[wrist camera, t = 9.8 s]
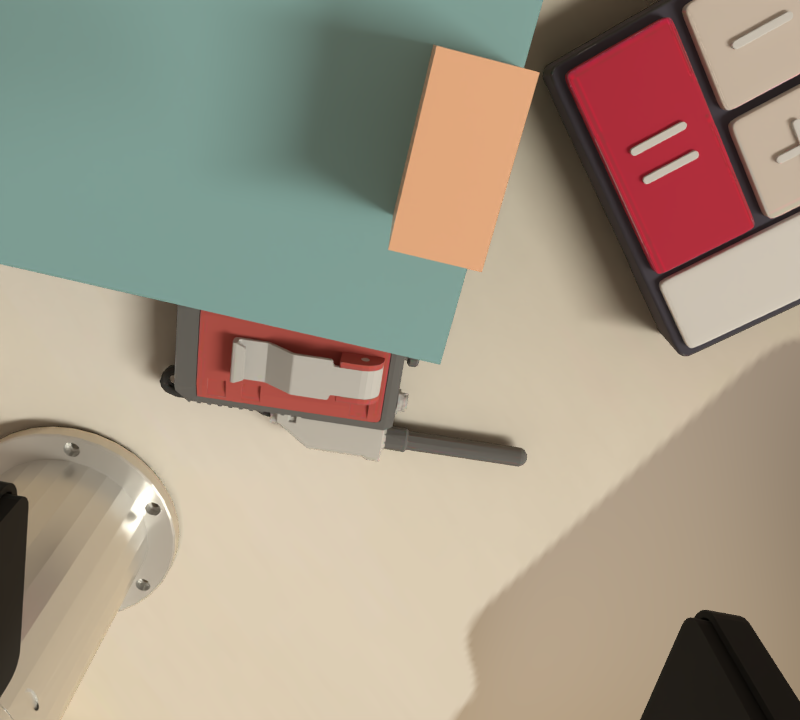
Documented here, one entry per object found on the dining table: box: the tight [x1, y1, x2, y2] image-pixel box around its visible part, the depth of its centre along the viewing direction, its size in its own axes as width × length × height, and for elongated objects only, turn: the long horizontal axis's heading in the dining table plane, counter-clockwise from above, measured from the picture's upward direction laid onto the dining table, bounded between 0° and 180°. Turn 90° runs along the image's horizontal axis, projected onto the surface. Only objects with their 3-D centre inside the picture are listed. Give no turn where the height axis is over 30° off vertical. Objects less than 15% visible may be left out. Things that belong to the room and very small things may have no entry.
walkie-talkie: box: [160, 305, 527, 466], centre depth 39 cm, size 9×4×20 cm
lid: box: [0, 0, 543, 364], centre depth 25 cm, size 17×20×6 cm
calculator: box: [543, 0, 800, 356], centre depth 35 cm, size 11×4×15 cm
